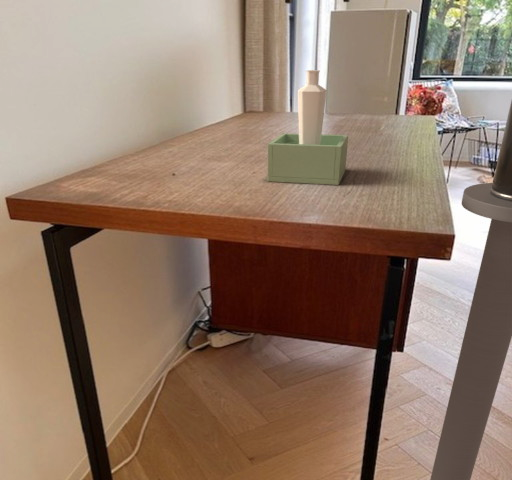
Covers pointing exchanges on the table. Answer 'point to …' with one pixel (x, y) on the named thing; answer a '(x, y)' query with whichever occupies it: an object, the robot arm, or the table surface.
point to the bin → (307, 160)
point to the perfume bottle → (311, 109)
